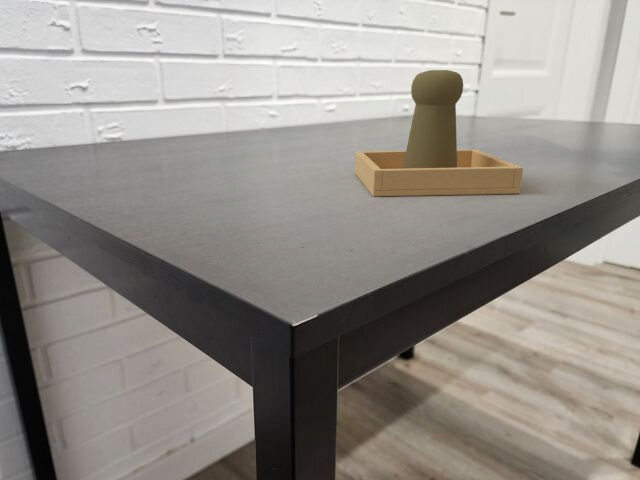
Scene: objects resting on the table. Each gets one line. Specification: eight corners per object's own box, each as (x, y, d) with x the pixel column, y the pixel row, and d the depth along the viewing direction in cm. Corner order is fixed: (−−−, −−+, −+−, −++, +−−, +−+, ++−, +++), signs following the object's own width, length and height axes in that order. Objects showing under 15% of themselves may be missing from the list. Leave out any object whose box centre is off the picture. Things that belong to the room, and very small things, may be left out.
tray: (473, 170, 63) (476, 149, 62) (519, 193, 51) (523, 167, 50) (354, 173, 63) (355, 151, 62) (373, 196, 51) (374, 170, 50)
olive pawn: (462, 182, 53) (475, 69, 49) (402, 182, 54) (410, 70, 50) (453, 172, 59) (464, 69, 55) (399, 171, 60) (406, 70, 56)
